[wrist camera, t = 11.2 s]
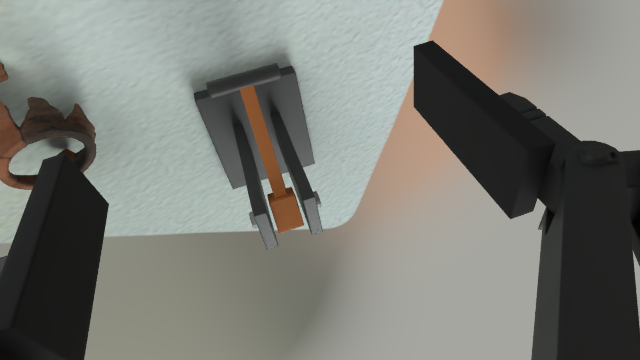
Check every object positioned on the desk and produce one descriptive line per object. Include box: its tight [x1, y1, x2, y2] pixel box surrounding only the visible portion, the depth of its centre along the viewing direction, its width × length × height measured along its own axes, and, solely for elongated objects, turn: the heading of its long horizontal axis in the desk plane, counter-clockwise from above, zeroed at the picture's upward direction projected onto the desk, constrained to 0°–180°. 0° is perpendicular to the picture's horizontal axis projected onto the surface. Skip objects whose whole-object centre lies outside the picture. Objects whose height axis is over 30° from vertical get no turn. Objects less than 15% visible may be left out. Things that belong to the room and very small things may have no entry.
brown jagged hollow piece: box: [0, 63, 96, 190], centre depth 33 cm, size 12×10×8 cm
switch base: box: [194, 66, 323, 250], centre depth 37 cm, size 12×10×15 cm
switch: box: [206, 63, 304, 233], centre depth 31 cm, size 13×6×2 cm, turn 10°
